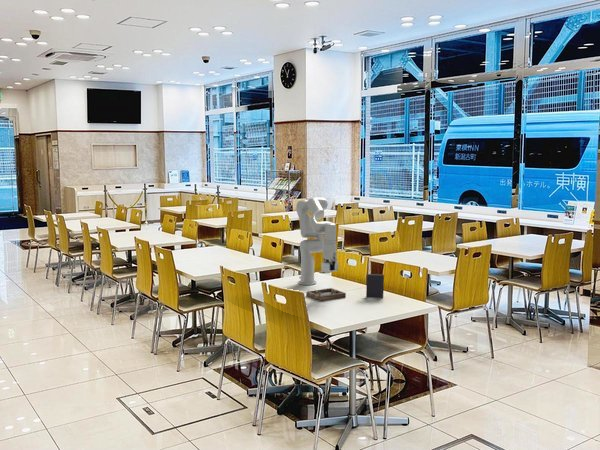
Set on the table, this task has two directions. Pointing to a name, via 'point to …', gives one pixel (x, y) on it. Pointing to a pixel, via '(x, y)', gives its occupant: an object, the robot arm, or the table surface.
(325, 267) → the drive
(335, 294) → the tray
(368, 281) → the calculator
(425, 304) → the table surface
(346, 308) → the table surface
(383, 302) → the table surface
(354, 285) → the table surface
